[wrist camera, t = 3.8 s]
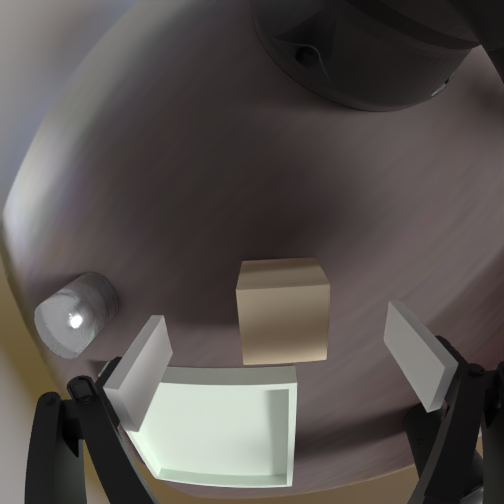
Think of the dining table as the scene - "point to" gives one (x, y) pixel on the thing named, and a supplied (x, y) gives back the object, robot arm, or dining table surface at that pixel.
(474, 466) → the drinking cup
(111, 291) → the cylinder
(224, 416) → the tray
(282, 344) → the beech block
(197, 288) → the dining table surface
